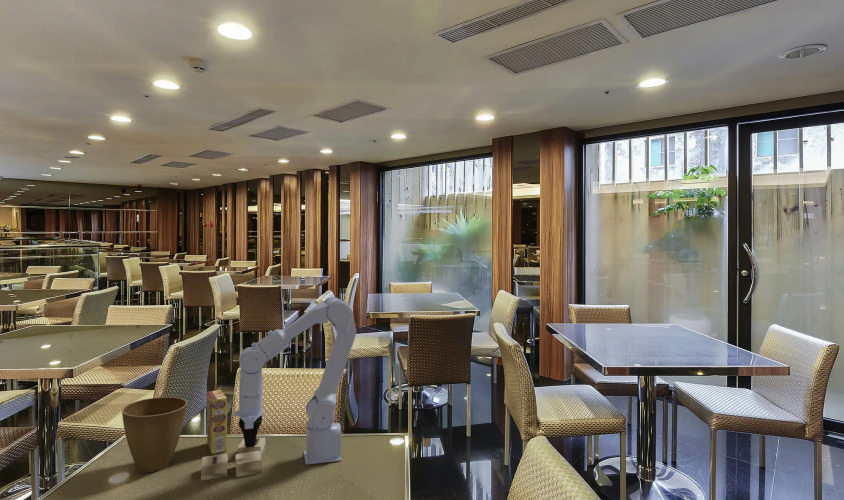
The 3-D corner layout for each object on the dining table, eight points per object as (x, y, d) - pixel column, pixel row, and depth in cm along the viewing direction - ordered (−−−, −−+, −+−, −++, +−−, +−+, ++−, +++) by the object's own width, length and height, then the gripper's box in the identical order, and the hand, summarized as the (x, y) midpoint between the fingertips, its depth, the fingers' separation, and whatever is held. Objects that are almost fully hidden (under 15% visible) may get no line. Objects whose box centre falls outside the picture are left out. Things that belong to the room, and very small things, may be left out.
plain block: (259, 463, 126) (259, 450, 126) (261, 473, 120) (261, 460, 120) (235, 467, 123) (235, 454, 123) (236, 478, 118) (236, 464, 118)
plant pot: (114, 484, 113) (115, 418, 113) (127, 458, 127) (128, 399, 127) (183, 474, 119) (184, 411, 119) (188, 450, 133) (189, 394, 132)
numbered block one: (227, 466, 124) (227, 453, 124) (227, 477, 118) (227, 463, 118) (202, 470, 121) (202, 456, 121) (201, 481, 116) (201, 466, 116)
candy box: (227, 451, 132) (228, 397, 132) (211, 455, 130) (211, 400, 130) (221, 440, 140) (221, 389, 139) (205, 443, 137) (206, 391, 137)
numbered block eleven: (265, 449, 134) (265, 437, 134) (260, 459, 128) (260, 446, 128) (243, 450, 134) (243, 437, 134) (237, 460, 128) (237, 447, 128)
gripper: (236, 387, 128) (236, 436, 128) (231, 404, 114) (231, 460, 114) (264, 385, 130) (263, 434, 130) (262, 402, 116) (261, 456, 116)
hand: (250, 446), depth 122 cm, fingers closed
